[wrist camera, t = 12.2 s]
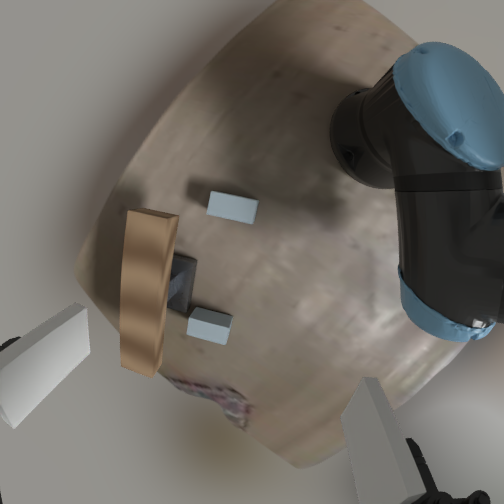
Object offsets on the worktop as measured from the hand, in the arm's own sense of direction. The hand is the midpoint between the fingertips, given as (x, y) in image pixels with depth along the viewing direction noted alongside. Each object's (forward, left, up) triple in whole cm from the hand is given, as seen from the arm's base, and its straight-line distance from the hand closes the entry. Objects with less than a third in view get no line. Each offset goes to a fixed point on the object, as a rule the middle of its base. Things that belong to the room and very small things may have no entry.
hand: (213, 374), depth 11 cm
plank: (+8, -12, -22) cm, 26 cm away
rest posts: (+4, -4, -29) cm, 29 cm away
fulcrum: (+8, -12, -29) cm, 32 cm away
